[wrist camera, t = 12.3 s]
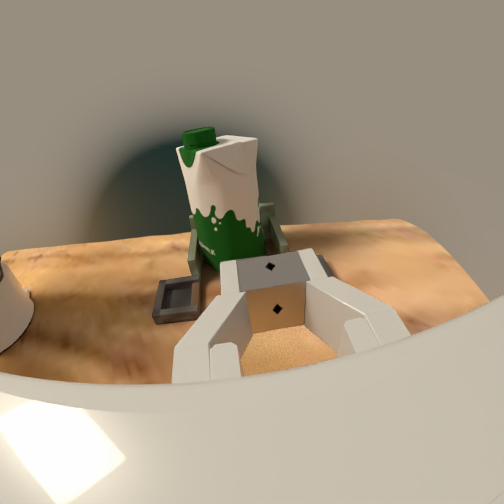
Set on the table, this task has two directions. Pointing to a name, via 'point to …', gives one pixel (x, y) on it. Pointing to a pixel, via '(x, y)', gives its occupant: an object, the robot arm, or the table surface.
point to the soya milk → (223, 194)
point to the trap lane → (189, 288)
